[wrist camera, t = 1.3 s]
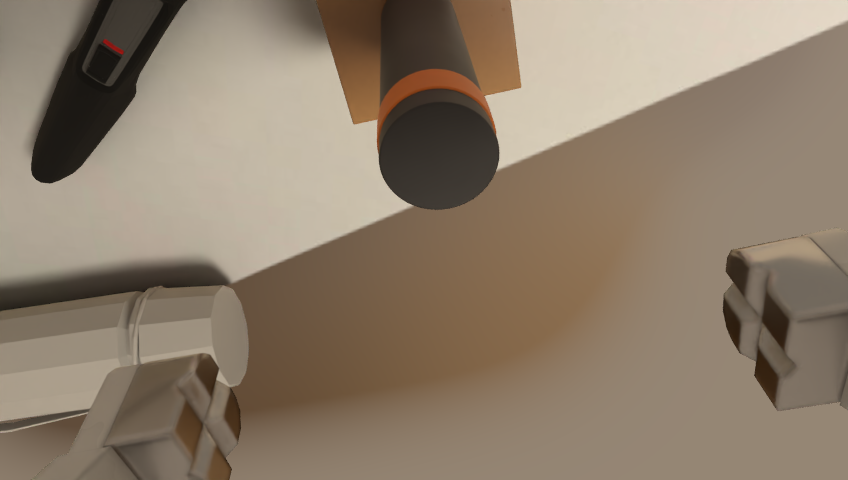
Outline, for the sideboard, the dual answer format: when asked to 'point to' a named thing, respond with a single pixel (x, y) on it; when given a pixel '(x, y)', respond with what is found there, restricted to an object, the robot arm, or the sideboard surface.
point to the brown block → (361, 46)
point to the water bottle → (110, 345)
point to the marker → (431, 108)
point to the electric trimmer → (98, 82)
